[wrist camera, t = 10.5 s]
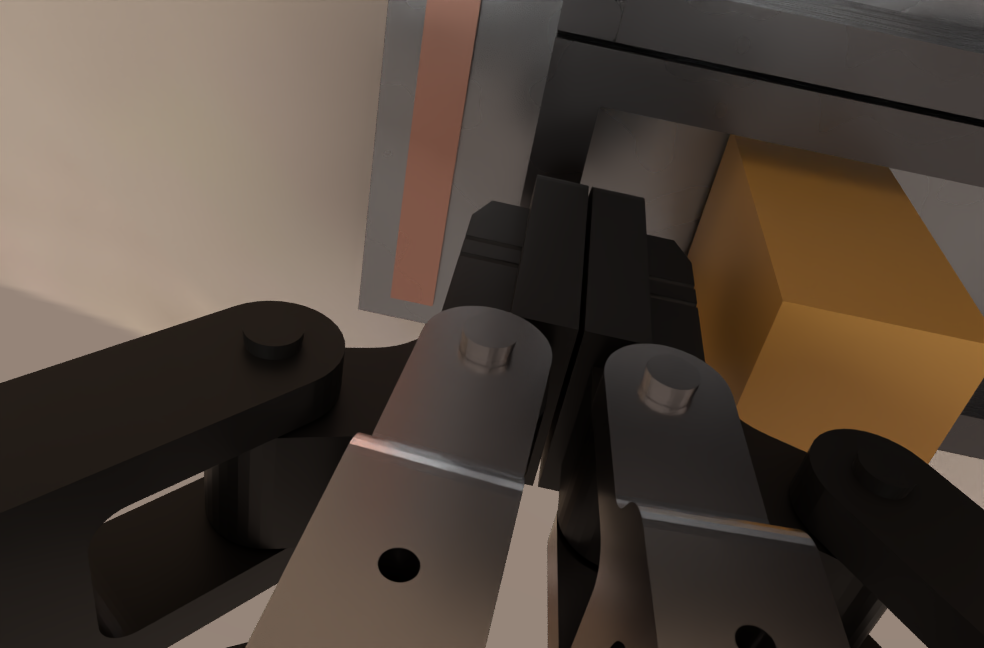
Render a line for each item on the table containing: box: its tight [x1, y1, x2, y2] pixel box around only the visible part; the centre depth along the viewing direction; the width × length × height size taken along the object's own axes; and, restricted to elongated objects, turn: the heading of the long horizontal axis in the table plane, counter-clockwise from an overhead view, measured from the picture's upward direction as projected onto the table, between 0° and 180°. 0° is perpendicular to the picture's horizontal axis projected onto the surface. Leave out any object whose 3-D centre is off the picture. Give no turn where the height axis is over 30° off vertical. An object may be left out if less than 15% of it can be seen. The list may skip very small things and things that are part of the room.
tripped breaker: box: [687, 134, 984, 464], centre depth 12 cm, size 2×3×5 cm
